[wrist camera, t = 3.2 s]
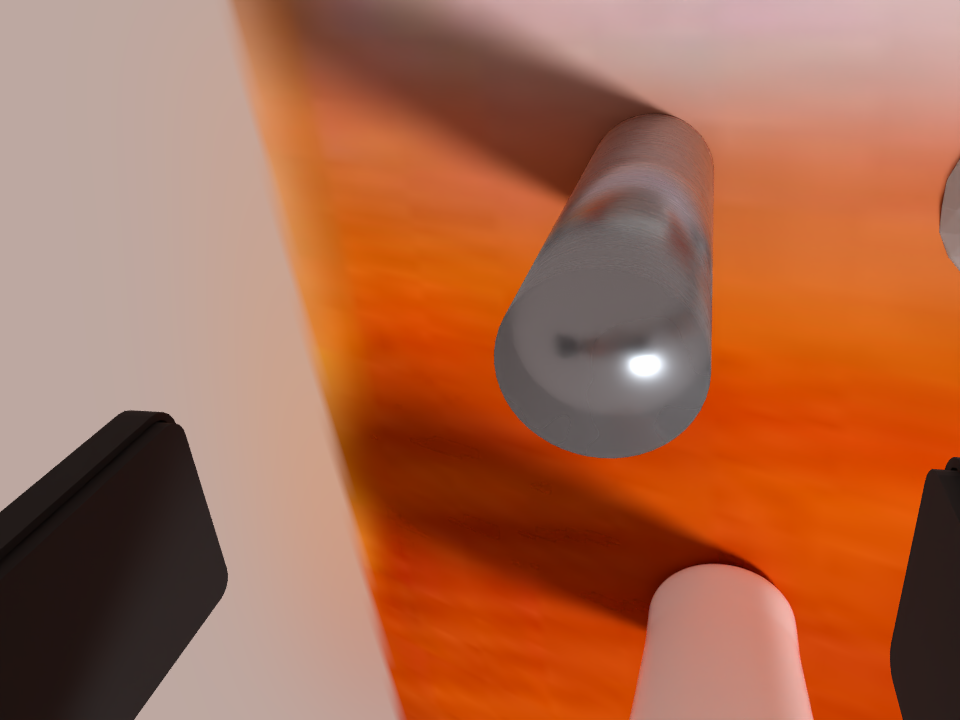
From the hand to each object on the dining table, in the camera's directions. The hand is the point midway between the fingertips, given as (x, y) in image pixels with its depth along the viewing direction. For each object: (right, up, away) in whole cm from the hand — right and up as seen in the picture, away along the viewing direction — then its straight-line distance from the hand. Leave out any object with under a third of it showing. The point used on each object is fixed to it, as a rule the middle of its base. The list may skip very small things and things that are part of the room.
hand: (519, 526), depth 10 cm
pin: (+5, +8, +13) cm, 16 cm away
